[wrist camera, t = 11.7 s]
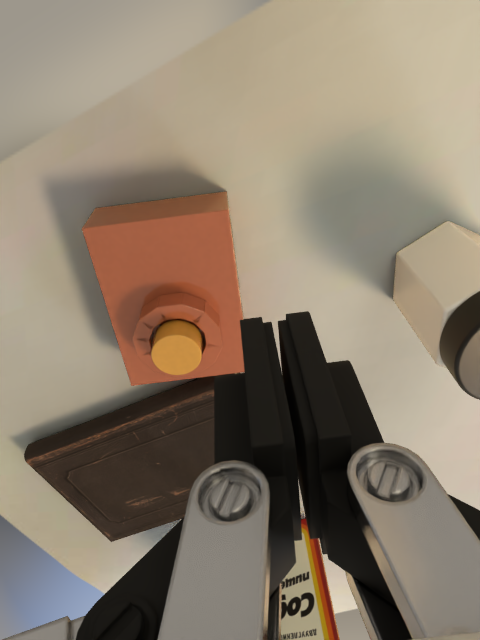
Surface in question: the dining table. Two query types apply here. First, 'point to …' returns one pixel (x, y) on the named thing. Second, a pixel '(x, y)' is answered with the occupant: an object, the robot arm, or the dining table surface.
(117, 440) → the hardcover book
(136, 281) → the push button box
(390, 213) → the dining table surface
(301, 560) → the baking soda box
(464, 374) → the jar
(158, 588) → the robot arm
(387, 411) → the dining table surface
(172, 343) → the yellow push button
